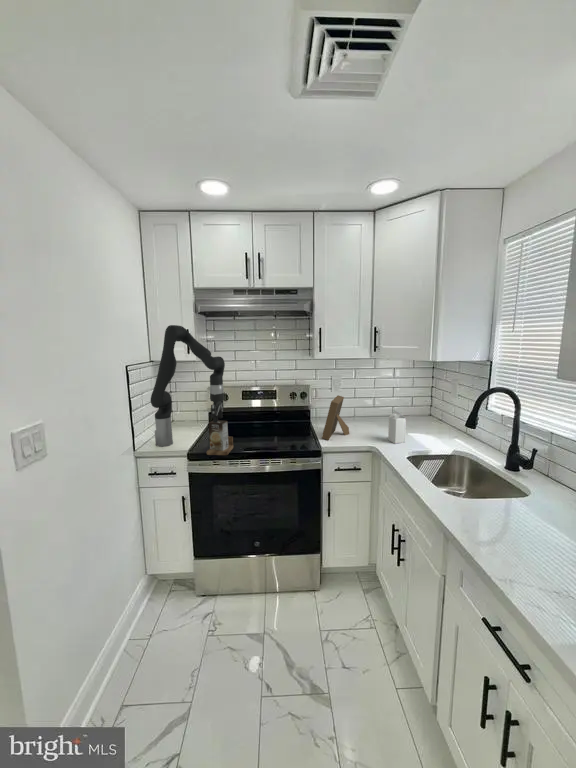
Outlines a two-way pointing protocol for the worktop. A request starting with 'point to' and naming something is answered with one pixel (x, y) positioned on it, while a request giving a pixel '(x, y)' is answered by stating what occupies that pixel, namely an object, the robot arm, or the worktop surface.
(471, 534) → the worktop surface
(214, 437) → the coffee box
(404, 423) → the milk carton
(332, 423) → the photo frame
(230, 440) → the ledge
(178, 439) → the worktop surface
